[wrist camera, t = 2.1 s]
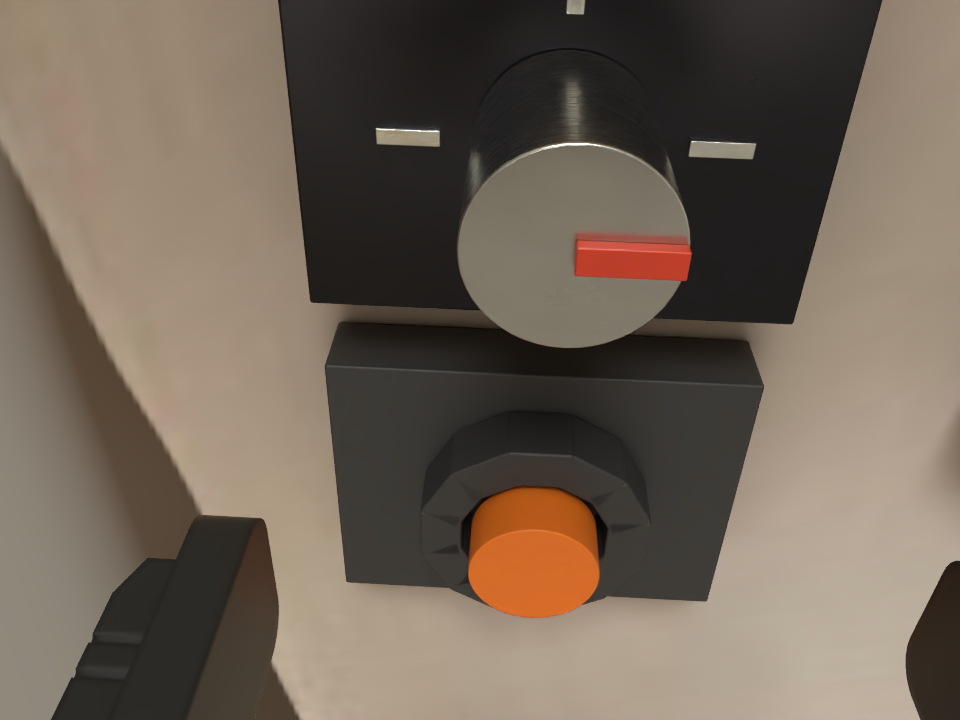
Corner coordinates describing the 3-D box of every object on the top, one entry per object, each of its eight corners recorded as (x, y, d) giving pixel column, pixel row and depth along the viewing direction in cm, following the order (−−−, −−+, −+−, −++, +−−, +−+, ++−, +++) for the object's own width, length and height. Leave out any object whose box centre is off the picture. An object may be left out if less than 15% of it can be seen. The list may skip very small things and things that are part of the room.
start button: (470, 567, 27) (467, 615, 25) (472, 480, 24) (468, 526, 23) (590, 574, 26) (593, 622, 25) (602, 486, 24) (606, 534, 23)
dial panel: (331, 246, 24) (308, 307, 22) (300, -121, 19) (264, -97, 17) (767, 265, 24) (794, 329, 22) (856, -102, 19) (908, -75, 16)
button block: (356, 533, 31) (336, 627, 28) (338, 321, 26) (310, 406, 23) (697, 551, 31) (716, 648, 28) (749, 340, 26) (780, 429, 22)
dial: (470, 220, 20) (454, 353, 16) (474, 45, 18) (455, 144, 14) (644, 228, 20) (673, 363, 16) (670, 52, 18) (713, 154, 14)
